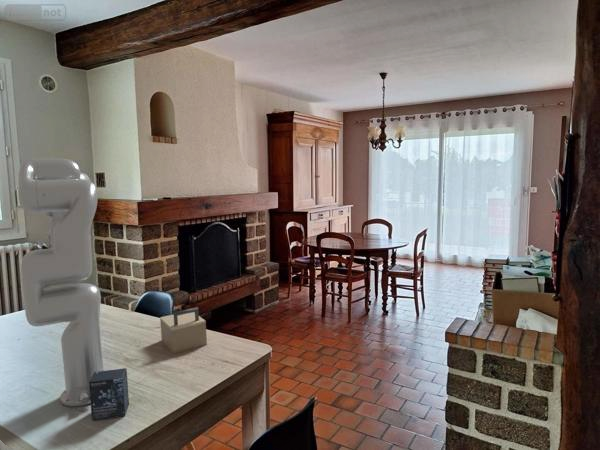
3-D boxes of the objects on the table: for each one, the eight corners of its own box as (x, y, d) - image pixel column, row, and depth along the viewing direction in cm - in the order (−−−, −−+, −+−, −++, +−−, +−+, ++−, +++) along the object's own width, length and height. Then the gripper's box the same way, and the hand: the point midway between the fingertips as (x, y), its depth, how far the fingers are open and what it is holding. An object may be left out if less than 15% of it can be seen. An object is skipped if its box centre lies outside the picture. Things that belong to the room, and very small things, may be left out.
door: (205, 323, 143) (204, 308, 143) (172, 331, 136) (171, 315, 136) (191, 312, 155) (191, 298, 154) (160, 319, 148) (159, 305, 147)
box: (91, 421, 100) (88, 381, 99) (97, 409, 105) (94, 371, 104) (125, 417, 102) (122, 377, 100) (129, 404, 107) (126, 367, 106)
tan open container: (206, 344, 144) (205, 323, 143) (173, 353, 137) (172, 331, 136) (193, 332, 156) (191, 312, 155) (161, 340, 149) (160, 319, 148)
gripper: (36, 217, 135) (41, 266, 137) (92, 213, 146) (96, 259, 148) (33, 215, 140) (38, 263, 143) (87, 212, 151) (91, 256, 154)
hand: (68, 261), depth 145 cm, fingers open, 9 cm apart
